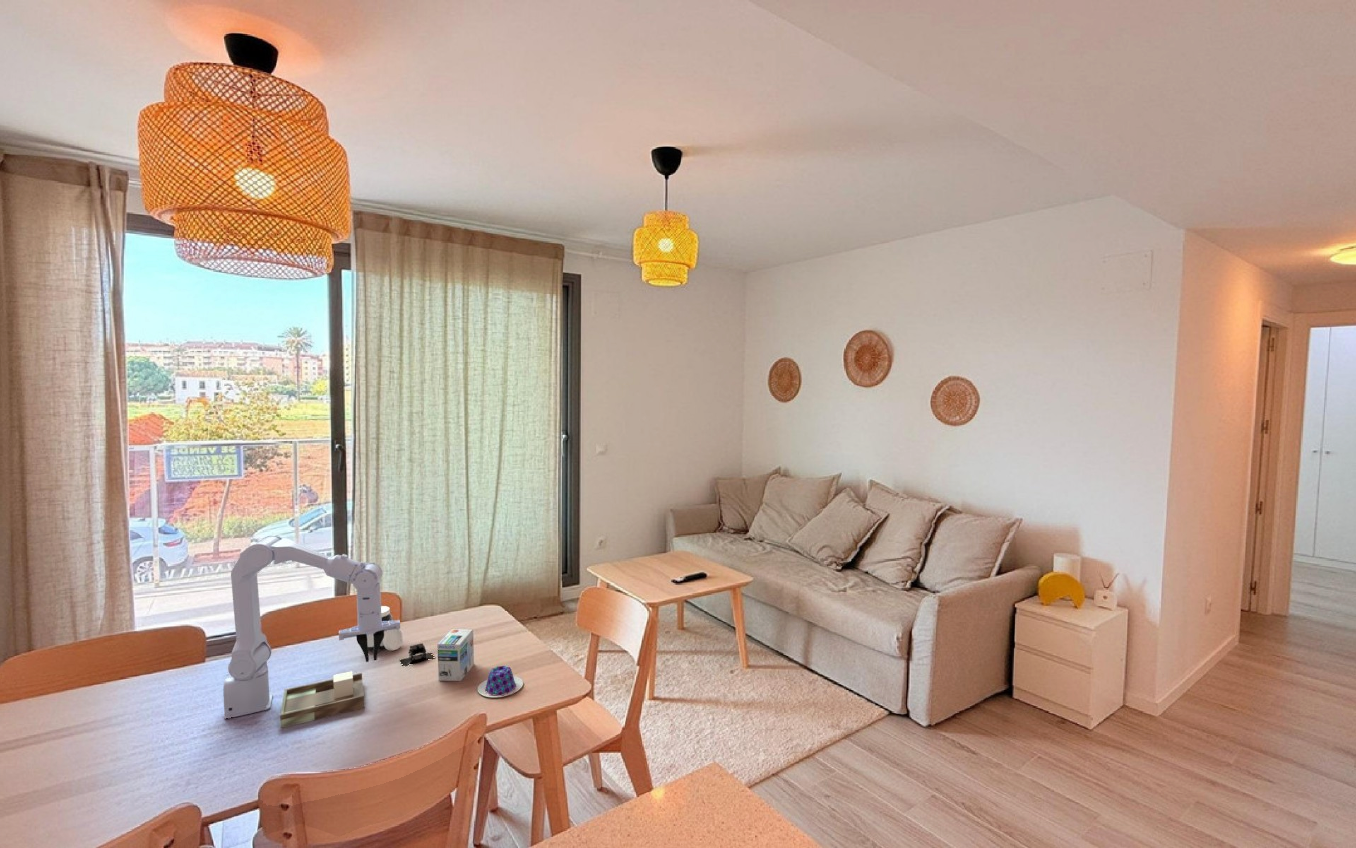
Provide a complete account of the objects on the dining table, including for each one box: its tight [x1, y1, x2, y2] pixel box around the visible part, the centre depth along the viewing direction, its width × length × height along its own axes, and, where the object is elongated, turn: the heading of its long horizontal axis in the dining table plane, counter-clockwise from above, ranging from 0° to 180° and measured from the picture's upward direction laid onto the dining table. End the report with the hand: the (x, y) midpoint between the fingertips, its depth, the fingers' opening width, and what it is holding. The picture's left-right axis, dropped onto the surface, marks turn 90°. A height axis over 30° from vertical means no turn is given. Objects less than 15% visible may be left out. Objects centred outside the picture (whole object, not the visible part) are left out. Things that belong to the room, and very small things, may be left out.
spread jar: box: [367, 605, 404, 652], centre depth 189 cm, size 12×11×12 cm
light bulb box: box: [437, 628, 475, 682], centre depth 172 cm, size 11×7×11 cm, turn 179°
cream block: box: [332, 670, 354, 699], centre depth 157 cm, size 4×4×4 cm
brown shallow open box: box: [279, 672, 365, 729], centre depth 155 cm, size 18×14×3 cm
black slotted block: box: [399, 643, 437, 667], centre depth 181 cm, size 12×7×5 cm, turn 125°
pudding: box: [477, 665, 524, 698], centre depth 164 cm, size 12×12×5 cm
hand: (371, 659), depth 160 cm, fingers closed
